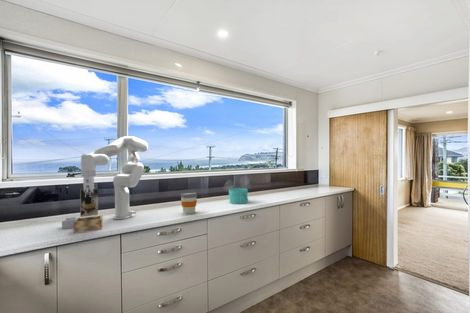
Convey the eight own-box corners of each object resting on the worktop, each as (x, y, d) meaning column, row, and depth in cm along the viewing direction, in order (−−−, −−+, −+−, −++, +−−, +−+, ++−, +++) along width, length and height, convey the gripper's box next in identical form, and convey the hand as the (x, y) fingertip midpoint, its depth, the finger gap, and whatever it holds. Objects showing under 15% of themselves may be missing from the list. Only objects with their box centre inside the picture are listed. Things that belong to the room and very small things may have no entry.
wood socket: (102, 224, 150) (102, 215, 150) (101, 229, 140) (101, 219, 140) (76, 227, 143) (76, 218, 143) (73, 232, 133) (73, 222, 133)
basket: (227, 201, 226) (227, 188, 226) (245, 200, 230) (245, 187, 230) (230, 204, 207) (230, 190, 208) (250, 203, 211) (250, 189, 211)
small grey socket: (78, 224, 151) (78, 216, 151) (76, 227, 145) (76, 219, 145) (64, 225, 148) (64, 218, 148) (61, 229, 141) (61, 220, 141)
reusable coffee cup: (200, 211, 184) (200, 192, 184) (190, 214, 172) (190, 194, 172) (187, 210, 189) (187, 191, 189) (177, 213, 178) (177, 194, 178)
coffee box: (80, 217, 137) (80, 190, 136) (80, 214, 142) (80, 188, 142) (98, 214, 142) (98, 189, 142) (97, 212, 147) (97, 187, 147)
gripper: (94, 174, 136) (94, 204, 136) (96, 173, 151) (96, 200, 151) (79, 175, 132) (79, 205, 132) (83, 173, 148) (83, 201, 148)
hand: (88, 202), depth 142 cm, fingers closed on coffee box, 7 cm apart
